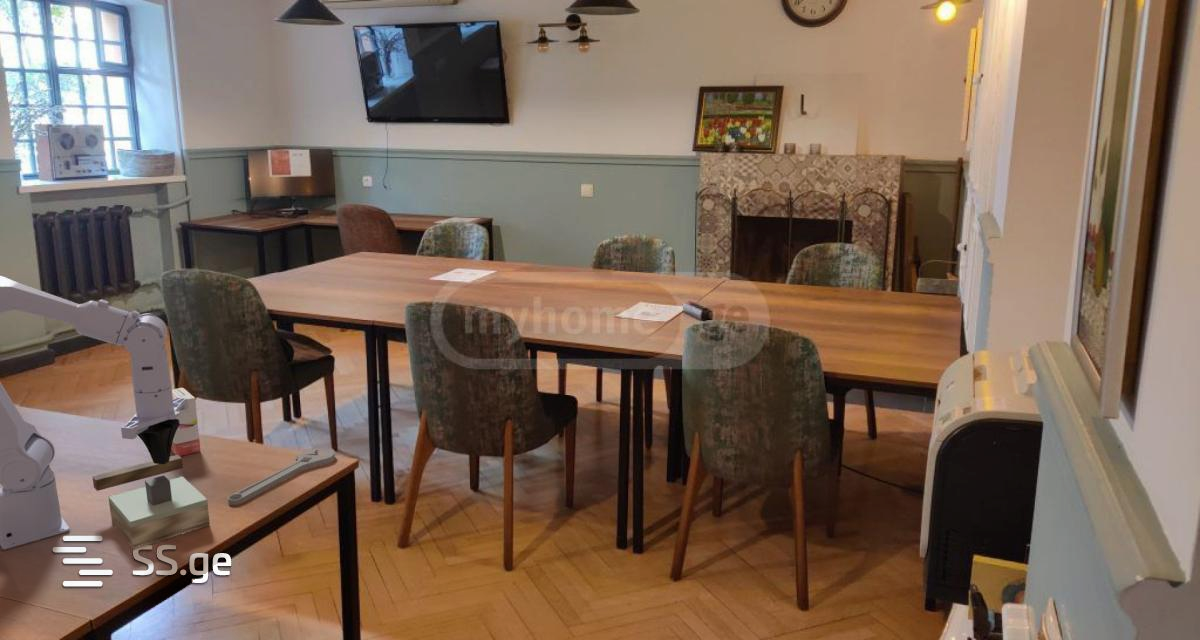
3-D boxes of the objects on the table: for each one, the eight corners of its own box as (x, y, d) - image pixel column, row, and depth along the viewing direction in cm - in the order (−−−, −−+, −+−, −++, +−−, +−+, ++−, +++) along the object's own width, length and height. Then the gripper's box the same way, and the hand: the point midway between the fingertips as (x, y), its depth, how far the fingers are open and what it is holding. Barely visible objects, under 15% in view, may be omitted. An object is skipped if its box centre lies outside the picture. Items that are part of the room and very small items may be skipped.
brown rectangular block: (97, 490, 148) (95, 480, 148) (93, 487, 149) (92, 476, 149) (182, 468, 157) (181, 458, 157) (179, 464, 159) (177, 454, 158)
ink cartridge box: (202, 451, 178) (195, 383, 174) (176, 457, 174) (168, 388, 171) (189, 438, 184) (181, 373, 180) (163, 444, 181) (155, 377, 177)
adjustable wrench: (235, 509, 155) (234, 500, 154) (212, 501, 158) (211, 492, 157) (340, 459, 176) (339, 451, 175) (317, 452, 179) (317, 444, 178)
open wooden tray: (133, 549, 140) (130, 527, 139) (111, 522, 148) (108, 501, 147) (209, 525, 148) (207, 504, 147) (185, 501, 156) (182, 481, 155)
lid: (131, 533, 139) (127, 501, 138) (109, 507, 147) (105, 477, 146) (208, 510, 147) (205, 480, 146) (183, 486, 155) (180, 458, 154)
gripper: (145, 404, 138) (155, 482, 141) (200, 375, 152) (207, 447, 155) (105, 400, 139) (116, 478, 142) (163, 373, 153) (172, 444, 156)
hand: (161, 462), depth 149 cm, fingers closed
